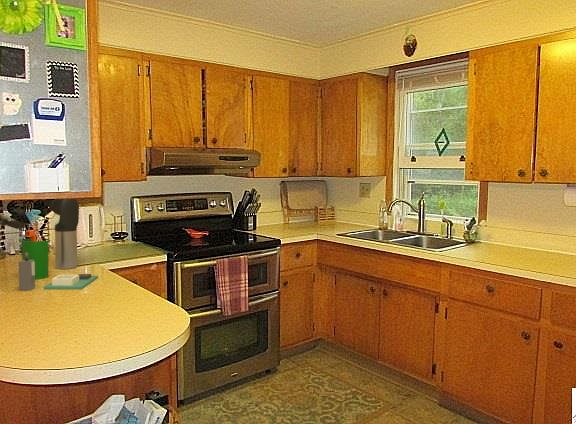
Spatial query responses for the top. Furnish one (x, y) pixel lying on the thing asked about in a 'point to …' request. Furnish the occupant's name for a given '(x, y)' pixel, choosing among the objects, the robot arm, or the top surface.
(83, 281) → the board
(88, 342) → the top surface
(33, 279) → the plug
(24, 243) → the green pen holder
